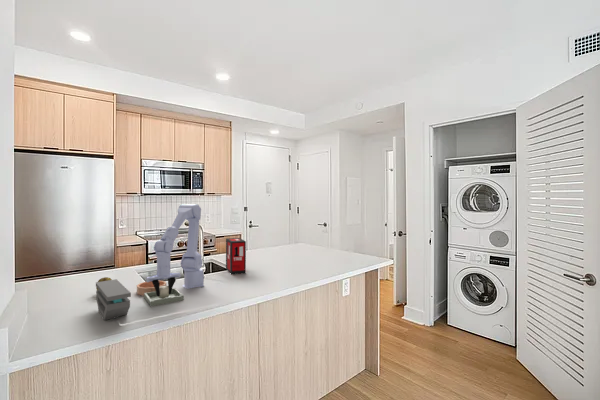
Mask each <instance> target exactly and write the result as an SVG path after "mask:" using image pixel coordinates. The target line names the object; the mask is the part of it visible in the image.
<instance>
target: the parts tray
mask: <svg viewBox="0 0 600 400" xmlns="http://www.w3.org/2000/svg"><path fill="white" fill-rule="evenodd" d="M184 297H185V296H184V294H183V293H182V292H181V291H179V290H178V289H177V288H176V287H172V290H171V294H169V297H167V298H159V296H157V294H156V291H154V292H148V293H144V296H143V298H144V299H145V301H146V303H148V305H149V306H150V307H154V306H160V305H164V304H165V305H166V304H170V303H176V302H178V301H179V302H180V301H184V300H185V298H184Z"/></svg>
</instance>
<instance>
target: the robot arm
mask: <svg viewBox="0 0 600 400" xmlns="http://www.w3.org/2000/svg"><path fill="white" fill-rule="evenodd" d="M201 216H202V208H201V206H200V205H199V204H197V203H195V204H194V203H190V204H189V203H188V204H186V203H181V204H179V206H178V208H177V215H176V217H175V219H174V221H173V223H172V225H171V226H169V227H167V228H166V230H165V231H164V233H163V234H162V236H161V237H160V239H158V240H157V241H155V243H154V246H153V250H154V252H155V256H156V274H155V275H151V276H146V278H145V282H150V281H152V283H153V285H154V287H155V290H156V294H157V296H159V285H160V283H159V281H158V280H160V281H164V280H167V286H169V294H171V290H172V288H174V285H175V283H176V280H177V279H176V278H181V273H180V272H171V252H172V251H173V249H174V244H175V240H176V239H177V237H178V235H179V234H180V231H179V229H180V228H181V226H182V225H183V223H184V222H185V221H186V220H187V222H188V228H187V229H188V231H187V245H186V252H184V253H183V254H182V258H181V259H180V260H181V261H180V267H181V269H182V271H183V273H184V275H183V279H184V281H183V284H181V286H182V287H183V288H185V290H188V289H193V288H199V287H200V288H203V287H205V285H204V284H205V283H204V281H205V279H204V278H205V277H204V270H203V268H202V267H203V259H202V254H200V253H199V252H198V246H199V244H198V243H199V231H200V221H201Z"/></svg>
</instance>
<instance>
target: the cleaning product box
mask: <svg viewBox="0 0 600 400" xmlns="http://www.w3.org/2000/svg"><path fill="white" fill-rule="evenodd" d="M246 243H247V241H245V240H244V239H242V238H240V237H233V238H231V237H230V238H225V269H226V270H227V272H228V273H229V272H230V273H231V274H230V273H229V274H230V275H232V274H233V275H241V273H243V274H246V271H247V270H246V269H247V268H246V267H247V266H246V263H247V262H246V259H247V257H246V255H247V253H246V251H247V249H246V248H247V245H246Z"/></svg>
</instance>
